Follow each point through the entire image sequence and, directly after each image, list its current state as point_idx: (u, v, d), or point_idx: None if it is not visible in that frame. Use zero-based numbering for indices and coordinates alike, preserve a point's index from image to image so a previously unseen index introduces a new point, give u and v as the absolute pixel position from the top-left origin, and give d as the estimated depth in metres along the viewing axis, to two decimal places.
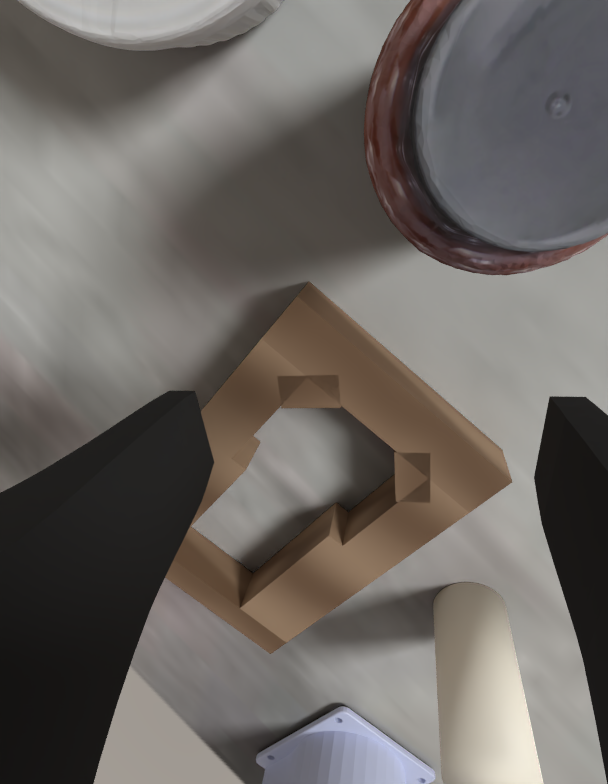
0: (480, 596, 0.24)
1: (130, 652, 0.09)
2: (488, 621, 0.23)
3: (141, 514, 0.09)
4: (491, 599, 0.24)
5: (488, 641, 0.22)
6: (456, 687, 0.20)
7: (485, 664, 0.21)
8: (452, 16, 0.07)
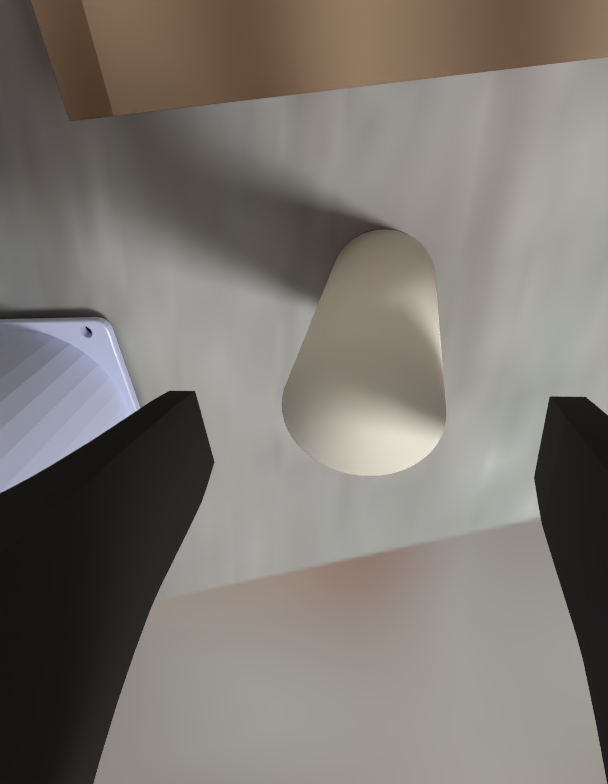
0: (427, 260, 0.16)
1: (130, 652, 0.09)
2: (431, 281, 0.15)
3: (141, 514, 0.09)
4: (434, 274, 0.16)
5: (430, 291, 0.14)
6: (378, 293, 0.12)
7: (424, 301, 0.13)
8: None
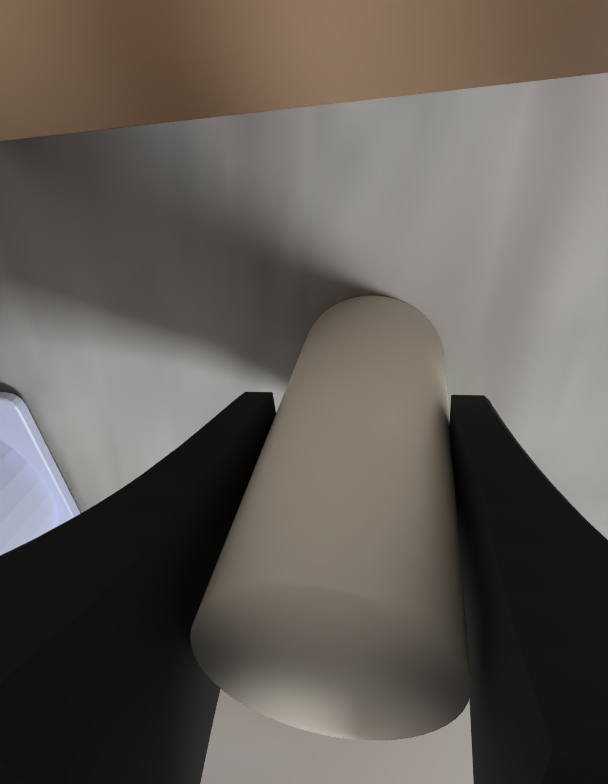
0: (433, 342, 0.11)
1: None
2: (440, 381, 0.10)
3: (232, 521, 0.09)
4: (443, 360, 0.12)
5: (439, 406, 0.09)
6: (356, 440, 0.07)
7: (430, 437, 0.08)
8: None
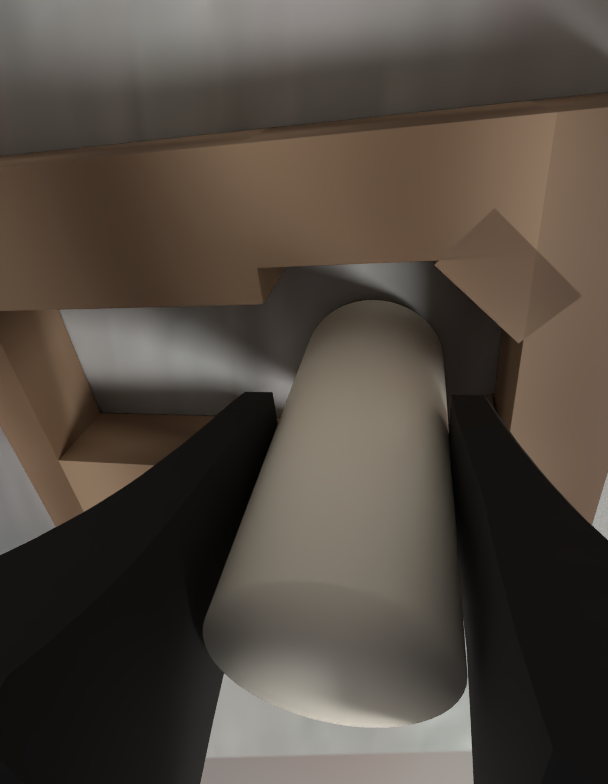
0: (434, 347, 0.12)
1: None
2: (441, 386, 0.11)
3: (232, 521, 0.09)
4: (443, 365, 0.12)
5: (440, 412, 0.10)
6: (364, 445, 0.08)
7: (432, 441, 0.09)
8: None
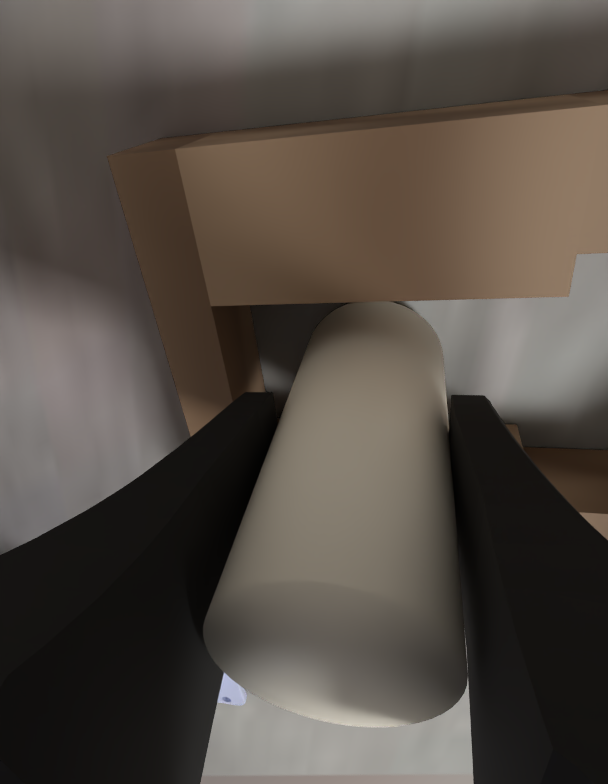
0: (434, 347, 0.12)
1: None
2: (441, 386, 0.11)
3: (232, 521, 0.09)
4: (443, 365, 0.12)
5: (440, 411, 0.10)
6: (364, 445, 0.08)
7: (432, 441, 0.09)
8: None
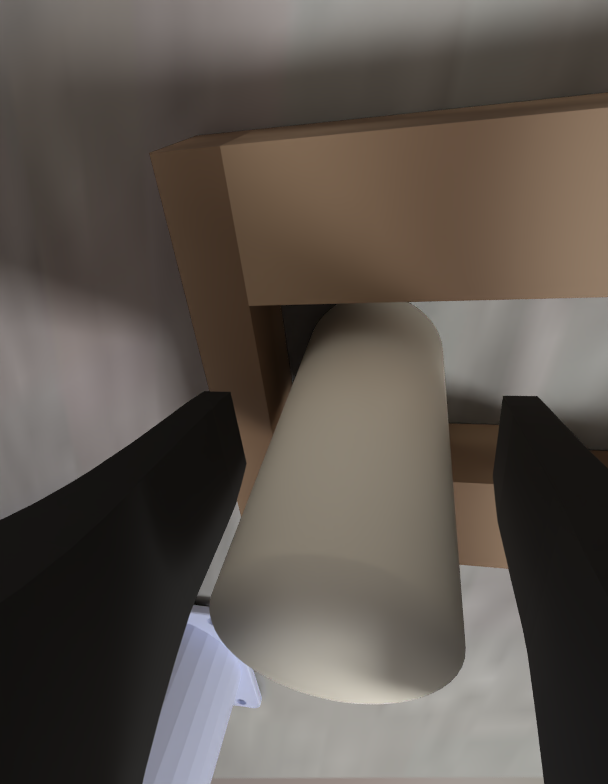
0: (434, 341, 0.12)
1: (173, 658, 0.09)
2: (440, 377, 0.11)
3: (183, 517, 0.09)
4: (442, 358, 0.12)
5: (439, 401, 0.10)
6: (365, 429, 0.08)
7: (432, 428, 0.09)
8: None
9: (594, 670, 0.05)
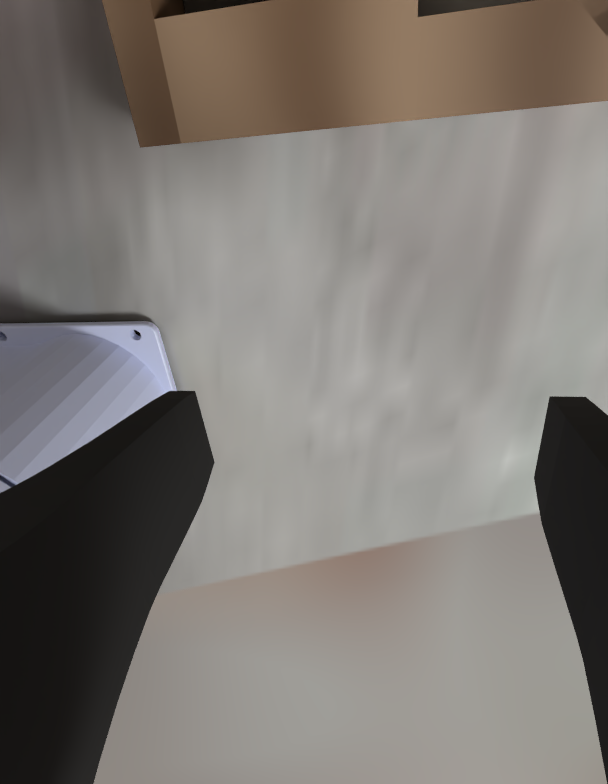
0: None
1: (130, 652, 0.09)
2: None
3: (141, 514, 0.09)
4: None
5: None
6: None
7: None
8: None
9: None
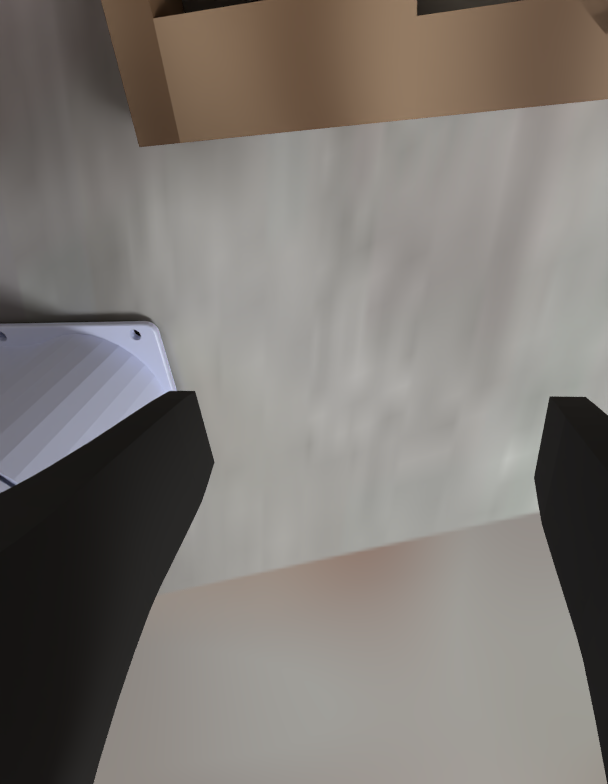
0: None
1: (130, 652, 0.09)
2: None
3: (141, 514, 0.09)
4: None
5: None
6: None
7: None
8: None
9: None
